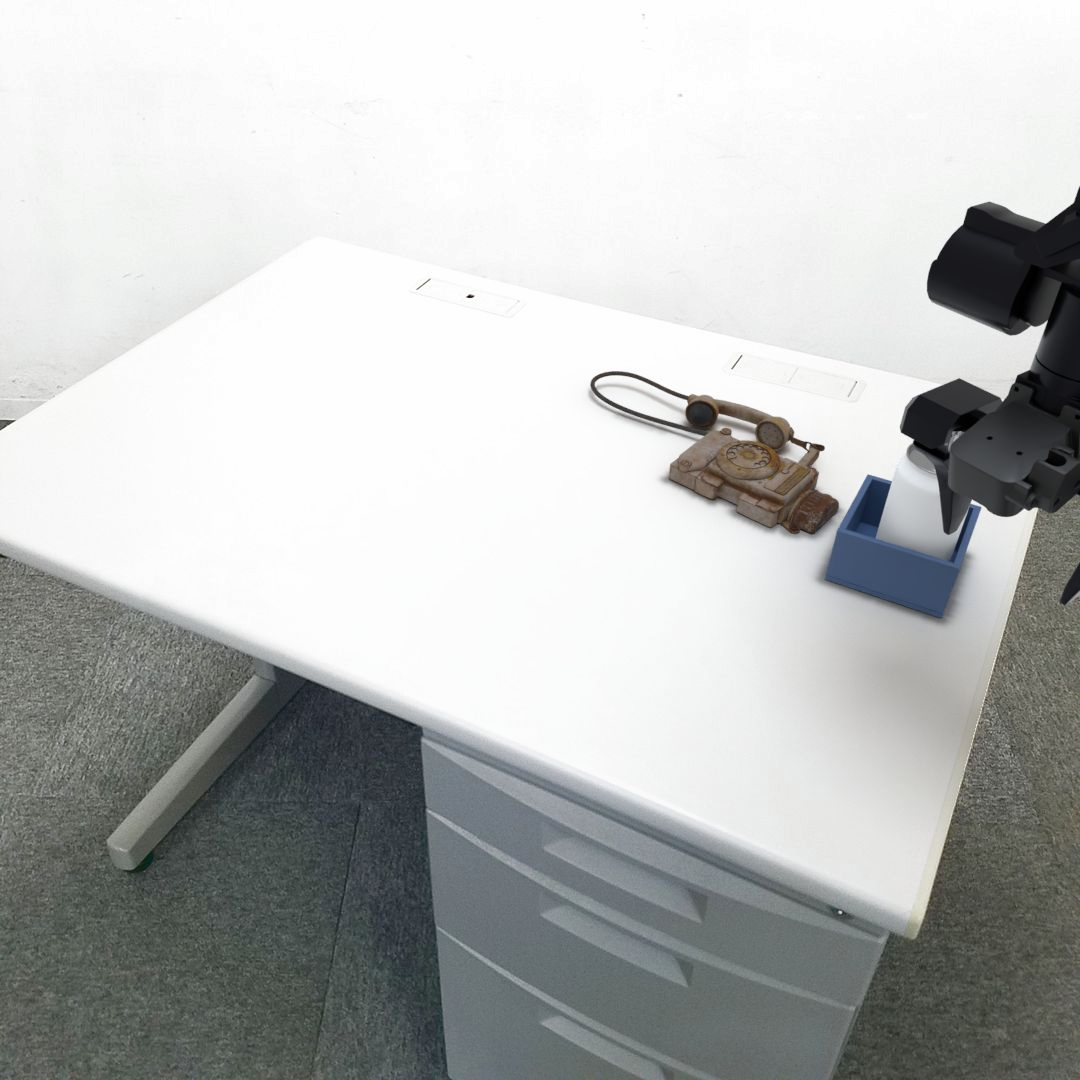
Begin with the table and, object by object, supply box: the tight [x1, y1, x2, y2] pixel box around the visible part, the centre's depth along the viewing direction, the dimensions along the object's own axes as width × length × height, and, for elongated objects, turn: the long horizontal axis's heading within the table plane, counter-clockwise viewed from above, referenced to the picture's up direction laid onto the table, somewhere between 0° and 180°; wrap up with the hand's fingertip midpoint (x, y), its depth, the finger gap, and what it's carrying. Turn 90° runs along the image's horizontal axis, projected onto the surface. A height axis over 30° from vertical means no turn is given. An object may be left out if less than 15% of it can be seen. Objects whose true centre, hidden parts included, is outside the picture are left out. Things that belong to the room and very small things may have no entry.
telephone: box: [589, 370, 840, 534], centre depth 102 cm, size 15×33×4 cm, turn 49°
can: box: [876, 442, 972, 562], centre depth 83 cm, size 6×6×12 cm
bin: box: [824, 473, 982, 619], centre depth 86 cm, size 10×10×6 cm
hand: (1005, 565), depth 67 cm, fingers open, 9 cm apart
